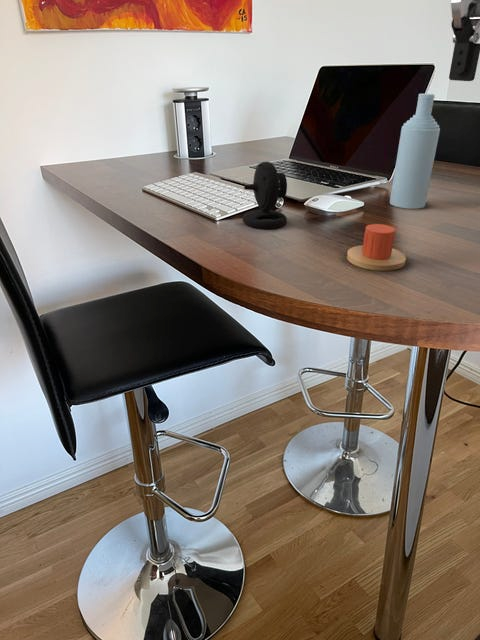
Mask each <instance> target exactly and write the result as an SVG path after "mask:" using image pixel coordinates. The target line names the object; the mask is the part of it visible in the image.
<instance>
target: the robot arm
mask: <svg viewBox="0 0 480 640" xmlns="http://www.w3.org/2000/svg"><path fill="white" fill-rule="evenodd" d="M450 8H451V10H450V11H451V29H452V32H453V35H452V43H453V44H454V47H453V52H452V57H451V62H450V69H449V75H448V79H449V81H460V82H473V81H474V80H475V78H476V73H477V68H478V63H479V59H480V43H478V42H479V40H480V0H451V3H450Z"/></svg>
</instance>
